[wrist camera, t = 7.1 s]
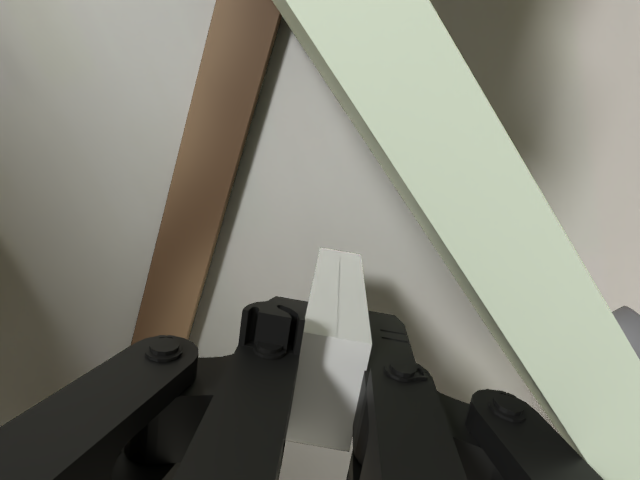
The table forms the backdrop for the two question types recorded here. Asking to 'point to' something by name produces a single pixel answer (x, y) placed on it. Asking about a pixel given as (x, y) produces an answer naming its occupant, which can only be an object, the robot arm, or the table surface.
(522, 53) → the table surface
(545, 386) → the door
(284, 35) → the table surface
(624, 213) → the table surface
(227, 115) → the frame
